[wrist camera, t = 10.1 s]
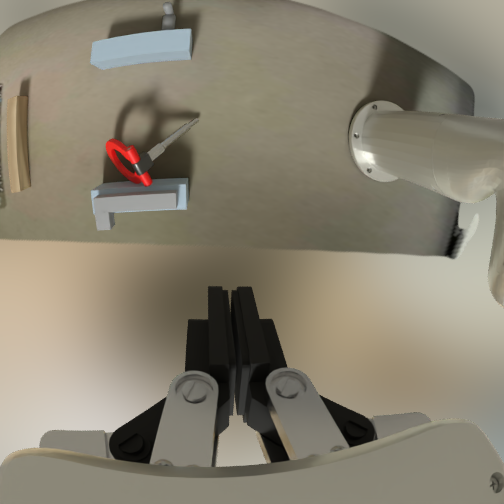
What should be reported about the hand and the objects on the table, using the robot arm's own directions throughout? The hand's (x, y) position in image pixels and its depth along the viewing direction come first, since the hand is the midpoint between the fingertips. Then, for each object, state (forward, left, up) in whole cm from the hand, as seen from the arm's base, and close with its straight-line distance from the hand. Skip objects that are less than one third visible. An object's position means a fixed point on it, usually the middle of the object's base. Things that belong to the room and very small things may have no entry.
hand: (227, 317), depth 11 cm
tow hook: (+10, -7, -29) cm, 31 cm away
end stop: (+29, -9, -28) cm, 41 cm away
